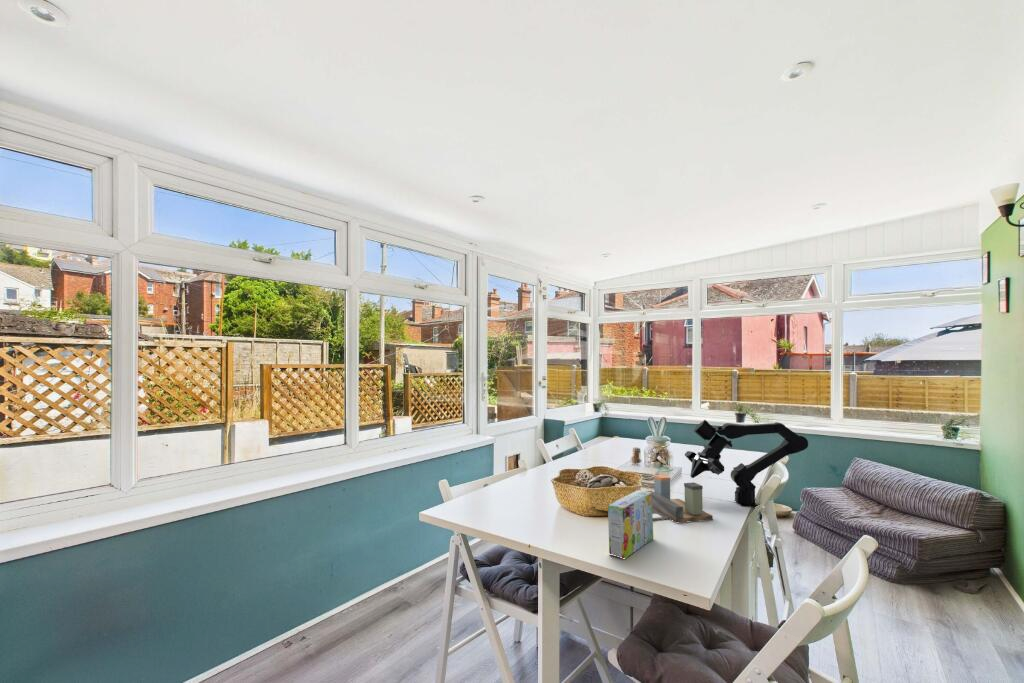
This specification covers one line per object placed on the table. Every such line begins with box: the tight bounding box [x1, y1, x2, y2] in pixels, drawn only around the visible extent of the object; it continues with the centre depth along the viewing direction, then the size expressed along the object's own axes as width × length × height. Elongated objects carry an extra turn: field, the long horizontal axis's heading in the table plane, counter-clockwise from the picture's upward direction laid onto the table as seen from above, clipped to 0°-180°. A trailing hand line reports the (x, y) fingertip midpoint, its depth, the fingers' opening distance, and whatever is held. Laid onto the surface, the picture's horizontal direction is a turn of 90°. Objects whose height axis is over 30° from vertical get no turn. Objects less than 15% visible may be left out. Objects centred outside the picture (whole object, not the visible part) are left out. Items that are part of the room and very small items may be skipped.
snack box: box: [607, 489, 654, 559], centre depth 144 cm, size 21×6×15 cm, turn 141°
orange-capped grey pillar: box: [653, 474, 671, 500], centre depth 184 cm, size 4×5×10 cm
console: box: [646, 490, 714, 523], centre depth 177 cm, size 15×22×6 cm
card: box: [652, 508, 670, 521], centre depth 175 cm, size 8×14×1 cm, turn 13°
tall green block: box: [683, 481, 704, 515], centre depth 171 cm, size 4×5×10 cm
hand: (691, 477), depth 187 cm, fingers closed
